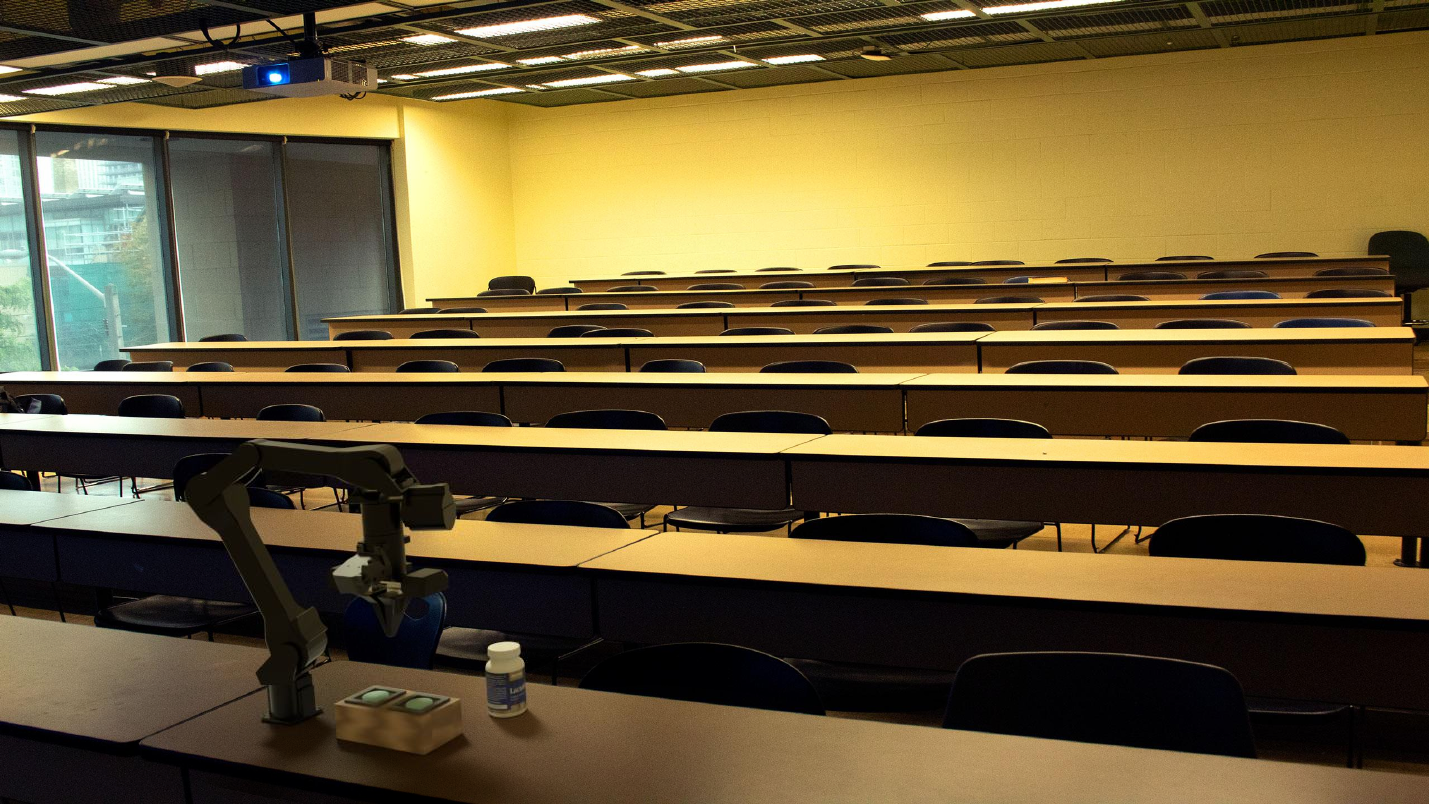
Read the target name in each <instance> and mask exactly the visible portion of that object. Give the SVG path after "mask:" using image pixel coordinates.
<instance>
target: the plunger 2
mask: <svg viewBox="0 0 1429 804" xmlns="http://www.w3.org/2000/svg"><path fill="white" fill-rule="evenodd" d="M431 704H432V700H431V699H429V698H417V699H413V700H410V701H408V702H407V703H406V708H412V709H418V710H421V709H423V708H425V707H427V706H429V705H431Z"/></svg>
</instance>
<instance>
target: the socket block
mask: <svg viewBox="0 0 1429 804" xmlns="http://www.w3.org/2000/svg"><path fill="white" fill-rule="evenodd" d="M374 691H386V692H388V693H389V696H388V697H386V698H384V699H382V700H380V701H378V702H371V701H365V700H363V699H362V697H363V695H365V694H367V693H370V692H374ZM417 698H429V699H431V700H432V704H431V705H429V706H427V707H425V708H423V709H421V710H418V709H412V708H406V703H407V702H408V701H410V700H413V699H417ZM333 709H334V710H333V711H334V721H335V731H336V739H340V740H345V741H349V742H355V743H360V744H364V745H365V744H366V745H371V746H376V747H380V748H386V749H391V750H396V751H402V752H406V753H407V752H408V753H412V754H417V755H421V756H425V755H427V754H429V753H431V752H433V751H434V750H436V749H438V748H440V747H441V746H443V745H444V744H447V743H448V742H450V741H452V740H453V739H456V738H457V737H459V736H460V735H462V734H464V728H463V715H462V699H461V698H458V697H451V696H445V695H439V694H433V693H427V692H421V691H413V690H408V689H401V688H395V687H390V686H384V685H379V684H378V685H376V684H375V685H371V686H369V687H367V688H365V689H363V690H360V691H358V692H356V693H355V694H352V695H350V696H348V697H346V698H344V699H341V700H339V701H338V702H335V703H333Z"/></svg>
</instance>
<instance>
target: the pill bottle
mask: <svg viewBox="0 0 1429 804" xmlns="http://www.w3.org/2000/svg"><path fill="white" fill-rule="evenodd" d="M520 654H521V645H520V644H519V642H514V641H502V642H496V643H493V644H490V645H489V646H488V647H487V657H488V658H489V660H488V661H487V662H486V665H485V682H486V684H485V685H486V687H485V688H486V706H487V711H488V712H487V713H488V714H489V715H490V716H492V717H496V718H501V719H503V718H505V719H506V718H513V717H516V716H520V715H521V714H524V712H525V711H526V710H527V707H528V706H527V705H528V704H527V703H528V702H527V688H526V682H527V681H526V667H525V662H524V661H525V660H523V658H521V657H520Z"/></svg>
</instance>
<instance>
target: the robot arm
mask: <svg viewBox="0 0 1429 804" xmlns="http://www.w3.org/2000/svg"><path fill="white" fill-rule="evenodd" d="M262 470H271V471H272V470H273V471H279V472H280V471H281V472H291V473H300V474H309V475H310V474H311V475H317V476H319V475H320V476H326V477H333V478H334V479H335V478H336V479H339V480H340V481H342V482H344V483H346V484H348V485H352V486H355V488H354V490H353V492H352V493H351V494H350V495H349V496H348V497H347V498H346V499H345V501H344V502H345V504H347V505H357V504H360V512H361V513H360V514H361V527H362V528H361V529H362V536H363V540H360V541H357V542H356V546H355V547H356V553H355V555H354V556H352V557H350V558H349V559H347V560H346V561H344V563H343V564H340V565H337V566H334V567H331V568H330V569H329V571H328V572H327V575H326V583H327V584H326V585H327V589H335V590H338V591H339V593H340V594H341V595H342V594H353V595H354V596H358V597H360V598H363V599H364V600H366V601H367V602H369V603H370V604H371V607H372V609H373V610H374V611H375V614H376V616H377V618H378V620H379V623H380V624H381V627H382V629H383V631H384V634H385V636H386V637H388V638H392V637H395V636H396V635H397V633H398V630H399V628H400V625H401V622H402V621H403V618H404V614H405V612H406V609H407V607H408V605H409V603H410V601H411V599H412V598H415V599H416V598H417V599H422V598H423V599H424V598H426V597H429V596H433V595H435V594H437V593H440V592H443V591H445V590H448V589H450V586H449V585H450V584H449V575H448V574H447V572H446V571H445V570H444V569H437V568H426V567H424V568H422V569H419V570H417V571H414V572H411V573H408V572H409V571H412V570H413V562H408V561H407V559H406V557H407V555H406V547H405V546H406V544H409V543H411V535H409V534H408V535H407V534H405V533H404V532H405V531H404V530H405V529H404V528H408V529H409V531H410V532H438V531H440V532H442V531H443V532H444V531H452V530H453V529H454V527H455V523H456V519H457V505H456V502H455V500H454V499H455V498H454V496H453V494H452V492H451V491H450V485H449V483H448V482H444V483H437V484H423V485H422V484H421V482H420V481H419V480H418V479H417V477H416V476H415V475H414V474H413V473H412V471H411V470H410V469H409V468H408V467H407V466H406V464H405V463H404V458H403V456H402V454H401V452H400V451H399V450H398V448H397V447H396V446H394V445H391V444H385V443H384V444H383V443H382V444H373V445H372V444H371V445H369V444H368V445H360V446H353V447H345V448H343V447H341V448H340V447H331V446H323V445H322V446H321V445H314V444H313V445H312V444H311V445H310V444H302V443H293V442H285V441H284V442H282V441H274V440H268V439H265V438H255V439H253V440H248V441H245V442H243V443H242V444H240V445H239V447H237V449H235V450H234V451H233V452H232V453H231V454H230V455H228V456H226V457H225V458H224V459H222V460H221V461H220V462H218V463H217V464H215V465H214V466H213V467H211V468H210V469H208V470H207V471H205V472H203V473H200V474H199V473H198V474H196V475H194V476H192V477H191V478H190V479H189V481H188V482H187V484H186V487H185V490H184V492H183V493H184V499H185V502H186V503H187V506H189V508H190V509H191V510H192V512H193V513H194V514H195V516H197V518H198V519H199V520H200V522H202V523H203V524H204V525H206V526H207V527H209V528H210V529H211V530H213V531H214V532H216V533H217V535H218V536H219V537H220V540H221V541H222V543H223V545H224V546H225V548H226V551H227V552H228V554H229V557H230V558H231V560H232V562H233V563H234V566H235V568H236V569H237V571H238V572H239V575H240V576H241V578H242V581H243V582H244V584H245V586H246V588H247V589H248V592H249V593H250V596H251V597H252V599H253V601H254V603H255V604H256V606H257V608H258V610H259V612H260V614H261V615H262V617H263V620H264V639H265V640H264V641H265V643H266V646H267V649H268V653H269V655H270V656H269V657H268V658H266V660H265V661H264V662H263V664H262V665H261V666H259V668H258V669H257V670H256V671H255V677H257V680H258V682H259V685H260V686H266V695H267V707H268V712H267V713H264V714H262V715H261V716H260V720H262V721H265V722H266V721H267V722H272V723H277V724H283V725H288V726H291V725H295V724H297V723H299V722H301V721H303V720H305V719H307V718H310V717H312V716H314V715H316V714H318V713H320V712H322V711H324V706H321V705H317V702H316V690H315V684H314V683H313V674H312V673H310V670H312V668H315V667H316V665H317V663H318V659H319V657H320V656H321V655H322V654H323V653H324V651H325V650H326V646H327V644H328V636H327V633H326V631H327V630H329V629H328V627H327V626H326V625H325V624H324V623H323V621H322V620H321V618H320V615H319V612H318V611H317V610H318V609H316V607H315V606H311V607H310V608H308V609H305V608H304V607H302V606H300V604H298V603H297V601H295V599H294V598H293V596H292V594H291V592H290V590H289V588H288V586H287V584H286V582H285V581H284V578H283V577H282V575H281V573H280V571H279V570H278V568H277V566H276V563H275V562H274V560H273V558H272V556H271V555H270V552H269V551H268V550H267V548H266V546H265V543H264V541H263V539H262V538H261V536H260V534H259V532H258V530H257V528H256V527H255V524H254V523H253V520H252V519H251V502H250V496H249V493H248V491H247V487H246V486H247V485H248V484H250V482H252V481H253V480H254V479H255V478H256V477H257V475H259V473H260V472H261V471H262Z"/></svg>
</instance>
